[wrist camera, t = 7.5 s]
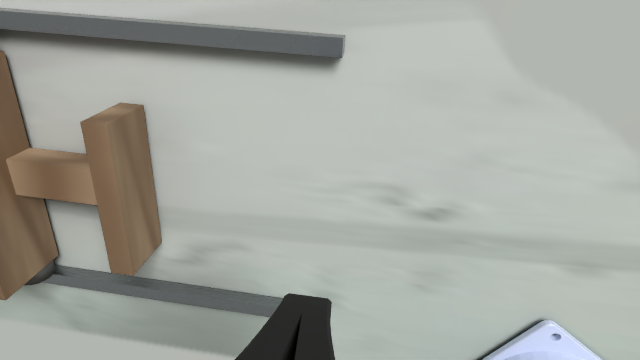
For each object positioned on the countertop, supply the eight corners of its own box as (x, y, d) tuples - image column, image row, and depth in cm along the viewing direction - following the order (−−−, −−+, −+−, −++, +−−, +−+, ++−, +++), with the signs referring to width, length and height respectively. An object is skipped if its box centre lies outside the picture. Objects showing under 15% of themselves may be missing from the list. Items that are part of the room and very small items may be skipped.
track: (345, 35, 18) (341, 40, 17) (323, 314, 25) (319, 333, 24) (-271, -14, 21) (-315, -13, 20) (-138, 246, 28) (-164, 259, 27)
